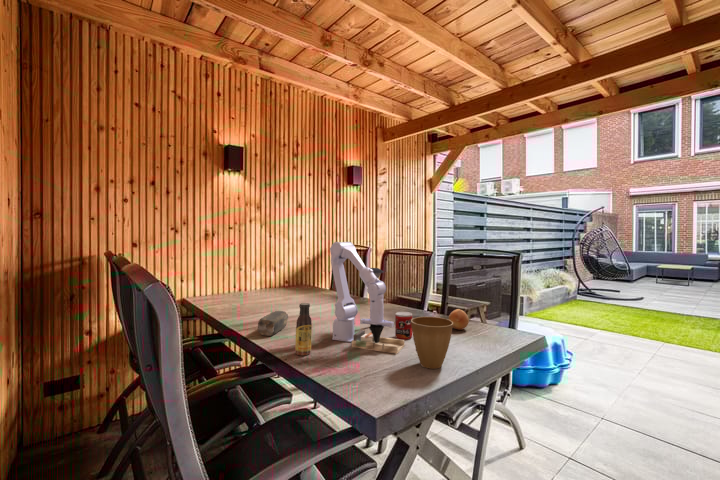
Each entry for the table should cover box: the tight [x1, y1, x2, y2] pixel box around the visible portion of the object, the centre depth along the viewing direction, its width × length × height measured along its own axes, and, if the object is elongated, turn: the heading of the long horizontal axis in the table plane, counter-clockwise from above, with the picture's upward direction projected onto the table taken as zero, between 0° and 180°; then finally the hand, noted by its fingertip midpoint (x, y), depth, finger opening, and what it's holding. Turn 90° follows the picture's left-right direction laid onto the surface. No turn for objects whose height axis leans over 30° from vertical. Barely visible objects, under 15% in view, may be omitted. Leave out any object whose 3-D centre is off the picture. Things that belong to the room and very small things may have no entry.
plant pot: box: [411, 316, 454, 370], centre depth 122 cm, size 15×15×16 cm
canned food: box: [394, 311, 413, 341], centre depth 155 cm, size 8×8×11 cm
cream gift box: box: [361, 331, 375, 343], centre depth 144 cm, size 5×6×4 cm
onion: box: [447, 308, 470, 331], centre depth 169 cm, size 10×10×10 cm
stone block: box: [257, 310, 289, 337], centre depth 166 cm, size 20×9×10 cm
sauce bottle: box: [294, 302, 313, 357], centre depth 134 cm, size 6×6×20 cm
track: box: [351, 329, 406, 355], centre depth 142 cm, size 20×10×5 cm, turn 66°
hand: (376, 342), depth 143 cm, fingers closed
